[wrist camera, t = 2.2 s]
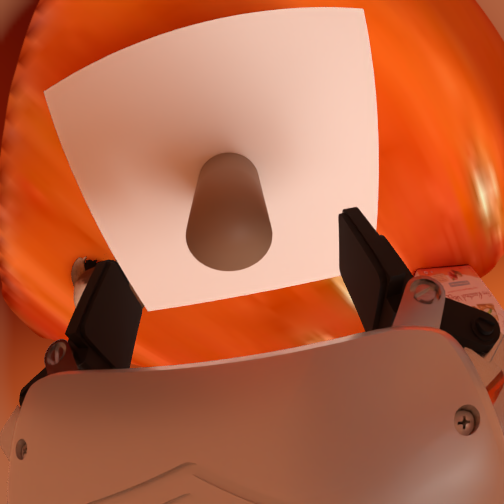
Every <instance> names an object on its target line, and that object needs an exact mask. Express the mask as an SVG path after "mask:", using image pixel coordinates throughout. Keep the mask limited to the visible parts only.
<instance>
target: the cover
mask: <svg viewBox="0 0 504 504" xmlns="http://www.w3.org/2000/svg"><path fill="white" fill-rule="evenodd" d="M44 95H45V98H46V102H47V105H48V108H49V111H50V114H51V117H52V120H53V123H54V126H55V129H56V131H57V134H58V137H59V140H60V142H61V145H62V147H63V150H64V153H65V155H66V158H67V160H68V162H69V165H70V167H71V170H72V172H73V174H74V177H75V179H76V181H77V183H78V186H79V188H80V190H81V192H82V194H83V197H84V199H85V201H86V203H87V205H88V207H89V209H90V211H91V213H92V215H93V217H94V219H95V221H96V223H97V225H98V227H99V229H100V231H101V233H102V235H103V237H104V238H105V240H106V242H107V244H108V246H109V248H110V249H111V251H112V253H113V255H114V257H115V258H116V260H117V262H118V264H119V265H120V267H121V269H122V270H123V272H124V274H125V275H126V277H127V279H128V280H129V282H130V284H131V285H132V287H133V289H134V290H135V292H136V293H137V295H138V296H139V298H140V300H141V301H142V303H143V304H144V306H145V307H146V309H147V310H148V311H153V310H159V309H166V308H172V307H179V306H185V305H191V304H197V303H203V302H209V301H215V300H220V299H226V298H232V297H237V296H242V295H248V294H253V293H258V292H264V291H269V290H274V289H279V288H284V287H289V286H294V285H299V284H303V283H308V282H313V281H318V280H322V279H327V278H331V277H336V276H340V275H341V274H340V270H339V223H338V215H339V214H340V213H342V211H343V209H347V208H352V207H358V208H359V210H360V211H361V212H362V213H363V215H364V216H365V217H366V219H367V220H368V221H369V222H370V224H371V225H372V226H373V228H374V229H375V230H376V225H377V208H378V180H379V148H378V120H377V104H376V91H375V81H374V72H373V64H372V56H371V49H370V43H369V37H368V31H367V25H366V20H365V15H364V10H363V9H359V8H337V7H312V8H291V9H279V10H269V11H260V12H253V13H246V14H240V15H235V16H229V17H224V18H219V19H215V20H210V21H206V22H202V23H198V24H194V25H190V26H187V27H183V28H180V29H177V30H173V31H170V32H167V33H164V34H161V35H158V36H155V37H152V38H149V39H147V40H144V41H141V42H139V43H136V44H134V45H131V46H129V47H126V48H124V49H122V50H119V51H117V52H115V53H113V54H111V55H108V56H106V57H104V58H102V59H100V60H98V61H96V62H94V63H92V64H90V65H88V66H86V67H84V68H82V69H81V70H79V71H77V72H75V73H73V74H72V75H70V76H68V77H66V78H65V79H63V80H61V81H60V82H58V83H56V84H55V85H53V86H52V87H50V88H48V89H47V90H45V91H44Z"/></svg>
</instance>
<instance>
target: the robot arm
mask: <svg viewBox="0 0 504 504" xmlns="http://www.w3.org/2000/svg"><path fill="white" fill-rule="evenodd" d="M338 223H339V270H340V274H341V276H342V278H343V281H344V283H345V285H346V287H347V289H348V292H349V294H350V296H351V298H352V301H353V303H354V305H355V308H356V310H357V312H358V314H359V317H360V319H361V322H362V324H363V326H364V329H365V331H366V332H362V333H358V334H353V335H349V336H345V337H341V338H336V339H332V340H328V341H323V342H318V343H313V344H309V345H304V346H299V347H294V348H289V349H284V350H279V351H274V352H268V353H262V354H256V355H250V356H244V357H237V358H230V359H223V360H216V361H208V362H200V363H191V364H181V365H170V366H158V367H145V368H130V364H131V359H132V354H133V349H134V345H135V340H136V336H137V331H138V327H139V323H140V319H141V315H142V307H141V304H140V303H139V301H138V300H137V298H136V296H135V295H134V293H133V292H132V290H131V288H130V287H129V285H128V283H127V282H126V280H125V278H124V277H123V275H122V273H121V271H120V270H119V268H118V266H117V265H116V263H115V262H112V261H111V260H105V261H101V262H98V263H97V264H96V266H95V268H94V270H93V272H92V274H91V276H90V278H89V280H88V283H87V285H86V287H85V289H84V291H83V293H82V295H81V297H80V300H79V302H78V304H77V306H76V309H75V311H74V313H73V316H72V318H71V320H70V323H69V325H68V328H67V330H66V333H65V334H66V335H67V337H68V338H69V340H68V342H67V341H66V340H64V339H60V340H57V341H55V342H54V343H52V344H51V345H50V346H49V348H48V350H47V351H46V353H45V357H44V362H45V368H44V369H43V370H42V371H41V372H40V373H39V374H38V375H36V376H35V377H34V378H33V379H32V380H31V381H30V382H29V383H28V384H27V385H26V386H25V387H23V389H22V390H21V393H20V399H19V402H20V406H21V407H19V406H18V405H17V407H16V409H15V410H14V412H13V413H12V415H11V416H10V418H9V420H8V421H7V423H6V424H5V426H4V428H3V429H2V431H1V433H0V445H1V448H2V450H3V451H4V453H5V455H6V456H7V458H8V460H9V461H10V464H9V473H8V490H7V491H8V492H7V504H504V334H502V333H501V332H500V326H499V323H498V322H497V320H496V319H495V318H494V317H493V316H492V315H491V314H489V313H487V312H485V311H482V310H479V309H477V308H474V307H471V306H468V305H466V304H463V303H460V302H457V301H455V300H452V299H449V298H446V295H445V289H444V287H443V285H442V284H441V283H440V282H439V281H438V280H436V279H435V278H432V277H430V276H424V275H422V276H416V277H413V275H412V274H411V272H410V271H409V269H408V268H407V267H406V265H405V264H404V262H403V261H402V260H401V258H400V257H399V255H398V254H397V253H396V251H395V250H394V248H393V247H392V246H391V244H390V243H389V242H388V240H387V239H386V238H385V237H384V236H383V235H379V234H378V233H377V232H376V230H375V229H374V228H373V226H372V225H371V224H370V222H369V221H368V220H367V219H366V217H365V216H364V215H363V213H362V212H361V211H360V210H359V208H358V207H352V208H347V209H343V211H342V213H340V214H339V215H338Z"/></svg>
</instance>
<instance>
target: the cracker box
mask: <svg viewBox="0 0 504 504" xmlns="http://www.w3.org/2000/svg"><path fill="white" fill-rule="evenodd" d="M422 275H424V276H430V277H432V278H435V279H436V280H438V281H439V282H440V283H441V284H442V285H443V287H444V289H445V295H446V298H449V299H452V300H455V301H457V302H460V303H463V304H466V305H468V306H471V307H474V308H477V309H479V310H482V311H485V312H487V313H489V314H491V315H492V316H493V317H494V318H495V319H496V320H497V322H498V323H499V326H500V332H501V333H502V334H504V311H503V309H502V308H501V306H500V305H499V303H498V302H497V300H496V299H495V298H494V296H493V295H492V293H491V292H490V291H489V289H488V288H487V287H486V285H485V284H484V283H483V281H482V280H481V279H480V277H479V276H478V275H477V273H476V272H475V271H474V270H473V268H472V267H471V266H470V265H465V266H454V267H442V268H429V269H417V270H416V273H415V275H414V277H416V276H422Z"/></svg>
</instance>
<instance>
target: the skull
mask: <svg viewBox="0 0 504 504" xmlns="http://www.w3.org/2000/svg"><path fill="white" fill-rule="evenodd" d="M85 259H86V257H85V258H80V257H79V258H78V259H77V260H76V261H75V263H74V265H73V267H72V273H71V276H72V282H73V286H74V303H75V308H76V306H77V304H78V302H79V300H80V297H81V295H82V293H83V291H84V289H85V287H86V285H87V283H88V280H89V278H90V276H91V274H92V272H93V270H94V268H95V266H96V264H97V263H96V261H97V260H94V261H92V260H86V263H85ZM111 261H112V262H115V263H116V265H117V266H118V268H119V270H120V271H121V273H122V275H123V277H124V278H125V280H126V282H127V283H128V285H129V287H130V288H131V290H132V292H133V293H134V295H135V296H136V298H137V300H138V301H139V303H140V304H141V307H142V308H143V307H144V304H143V303H142V301H141V300H140V298H139V296H138V295H137V293H136V292H135V290H134V289H133V287H132V285H131V284H130V282H129V280H128V279H127V277H126V275H125V274H124V272H123V270H122V269H121V267H120V265H119V264H118V262H116V261H117V260H116V259H115V261H114V260H111Z"/></svg>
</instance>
